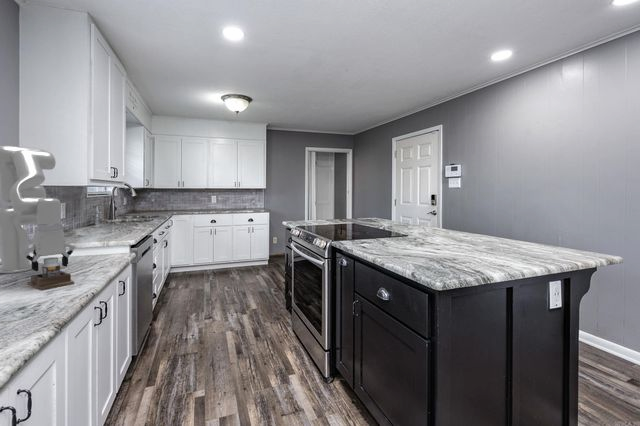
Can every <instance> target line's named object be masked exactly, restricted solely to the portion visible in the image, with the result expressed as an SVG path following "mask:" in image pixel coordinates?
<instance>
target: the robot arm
mask: <svg viewBox="0 0 640 426" xmlns="http://www.w3.org/2000/svg"><path fill="white" fill-rule="evenodd" d="M56 164H57V163H56V158H55V155H53V153H51V152H50V151H48V150H46V149H42V148H35V147H33V148H32V147H26V146H24V147H23V146H15V145H0V196H1V200H3V201H4V202H6V203H10V204H11V205H6V206H5V205H4V206H2V207H0V244H1V245H0V246H1V263H2V265H1V266H2V267H1V268H0V274H16V273H23V272H28V271H35V272H38V271H39V261H38V259H40V257H47V256H48V257H49V256H55V255H62V256H61V266H63V267H66V268H67V267H68V265H69V257H70V255H72V253H74V251H75V249H76V246H75V245H72V244H69V243H67V242H66V237H65V232H64V230H62V229H63V228H65V227H66V224H63V223H62V218H61V217H62V216H61V215H62V214H61V213H62V212H61V211H62V210H61V209H62V208H61V200H59V198H54V197H47V191H46V189H45V187H44V186H43V185H41V184H43V183H44V182H45V180H46V177H45V174H44V171H43V170H46V171H47V170H49V171H50V170H53V169H54V168H55V167H56ZM28 225H36V229H37V230H36V231H34V233H33V237H32V246H30V244H29V243H30V241H29V239H30V237H29V233H28V231H27V230H26V229H25V228H23V227H22V226H28ZM67 248H69V249H68V251H67ZM31 252H32V256H31V255H30V253H31ZM30 263H31V264H30Z"/></svg>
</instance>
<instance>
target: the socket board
mask: <svg viewBox="0 0 640 426" xmlns="http://www.w3.org/2000/svg"><path fill="white" fill-rule="evenodd" d="M71 278H72V277H71V273H67V272H66V271H62V270H60V276H54V277H48V278H42V273H39V274H33V275H30V281H28V282H27V285H28V286H30V287H32V288H34V289H37V290H39V291H47V290H51V289H56V288H60V287H66V286H71V285H75V281H74V280H71Z"/></svg>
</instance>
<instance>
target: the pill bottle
mask: <svg viewBox="0 0 640 426" xmlns="http://www.w3.org/2000/svg"><path fill="white" fill-rule="evenodd" d="M41 269H42V270H41V274H42V278H48V277H54V276H60V271H61V264H60V263H59V258H58V257H45V258H44V259H43V264H42V265H41Z"/></svg>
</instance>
